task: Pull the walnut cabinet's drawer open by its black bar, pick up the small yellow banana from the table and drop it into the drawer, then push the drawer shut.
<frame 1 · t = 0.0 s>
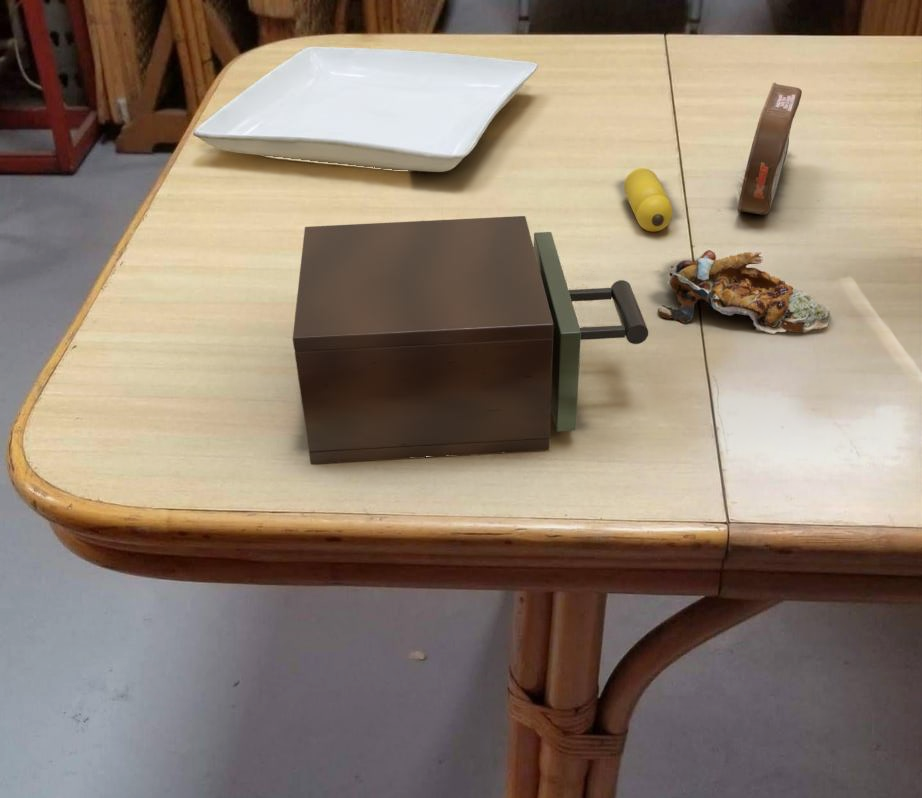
brown snack box: (762, 197, 95), on the table
drawer: (496, 330, 69), point 4 cm above the table, slide at 0.5 cm
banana: (646, 216, 92), on the table
brown sculpted figurine: (743, 310, 80), on the table
square plate: (377, 130, 109), on the table
cabinet: (425, 392, 72), on the table
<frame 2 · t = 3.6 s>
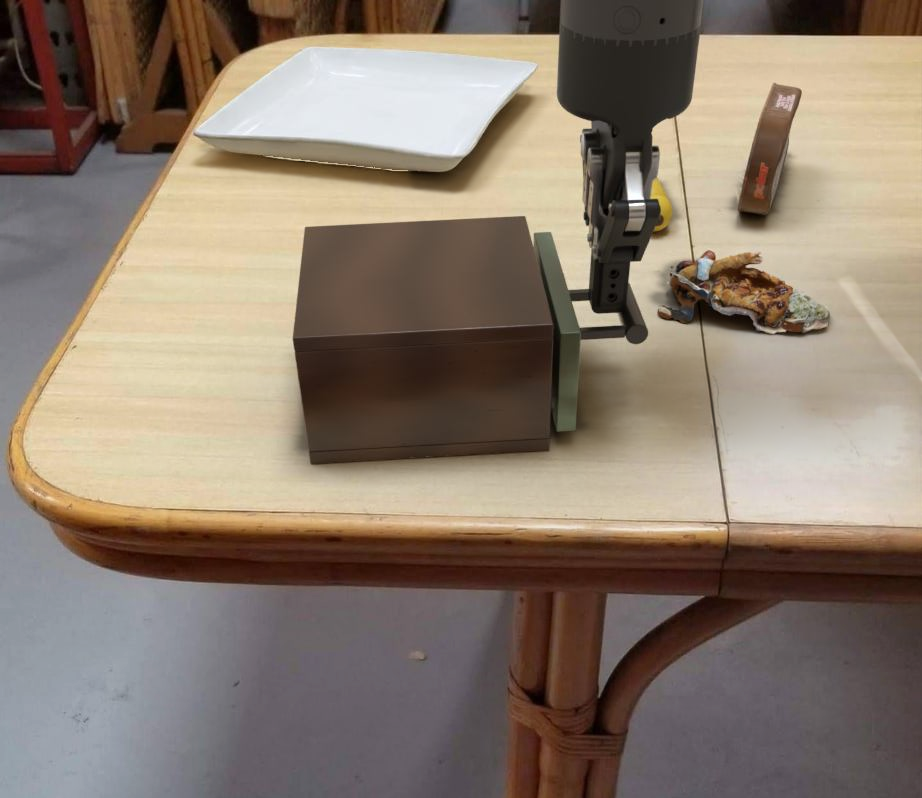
hand: (606, 307, 68), 6 cm above the table, tool pointing down, fingers closed
drawer: (495, 330, 69), point 4 cm above the table, slide at 0.5 cm, touching gripper
everything else where it was.
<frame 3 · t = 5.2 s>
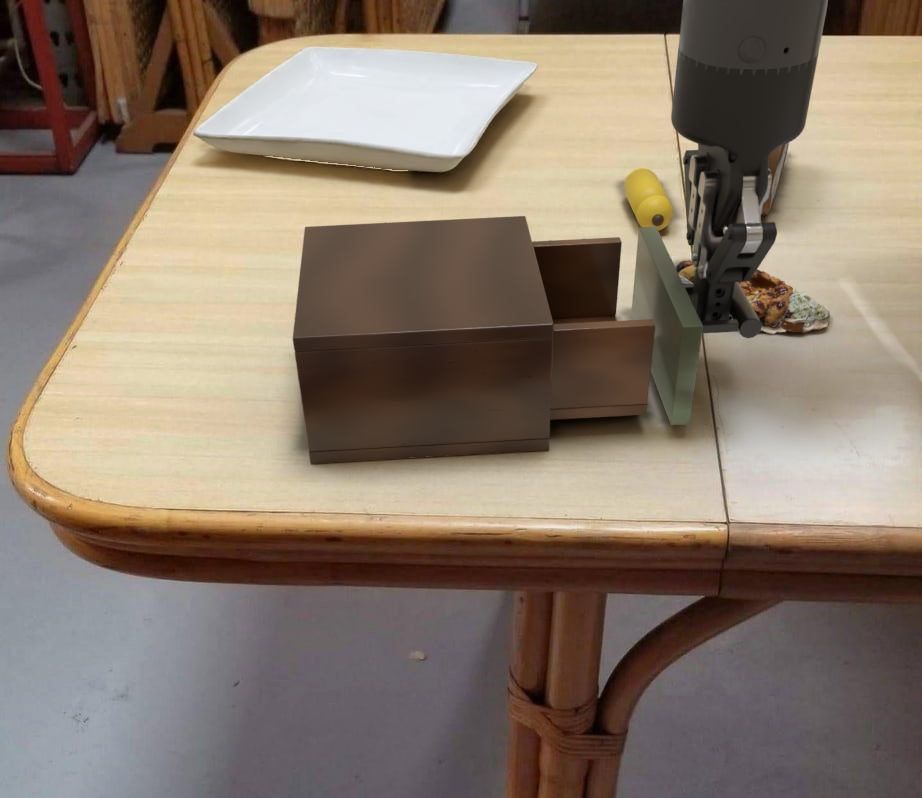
hand: (707, 324, 70), 4 cm above the table, tool pointing down, fingers closed
drawer: (605, 324, 69), point 4 cm above the table, slide at 7.6 cm
everything else where it was.
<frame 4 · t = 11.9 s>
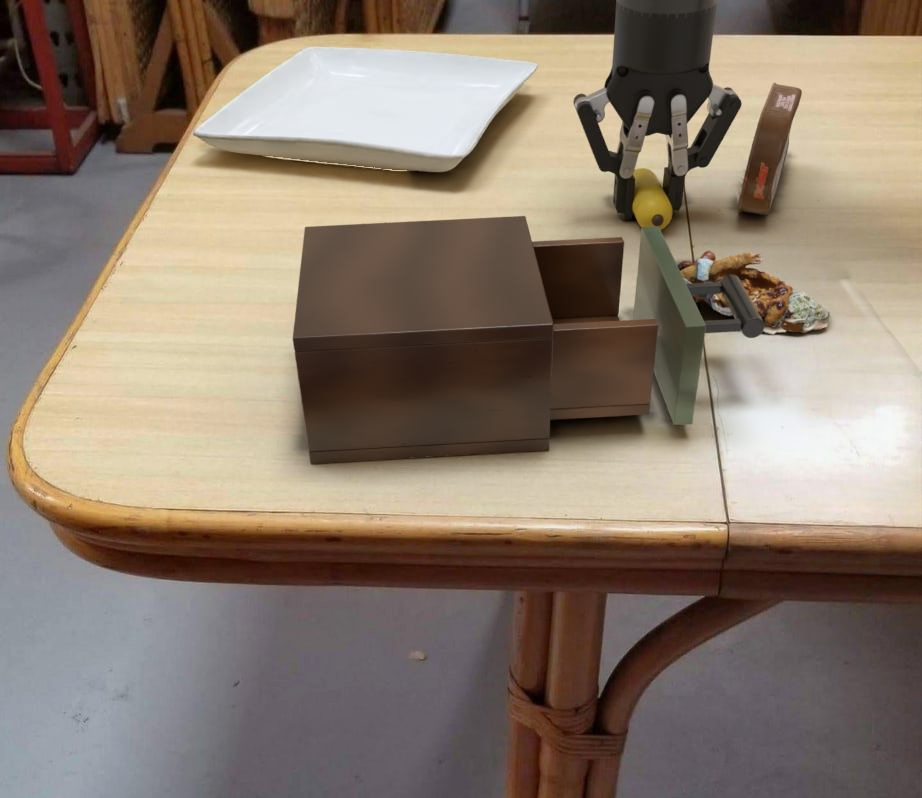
hand: (646, 214, 92), 0 cm above the table, tool pointing down, fingers closed on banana, 3 cm apart
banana: (646, 216, 92), on the table, touching gripper
everything else where it was.
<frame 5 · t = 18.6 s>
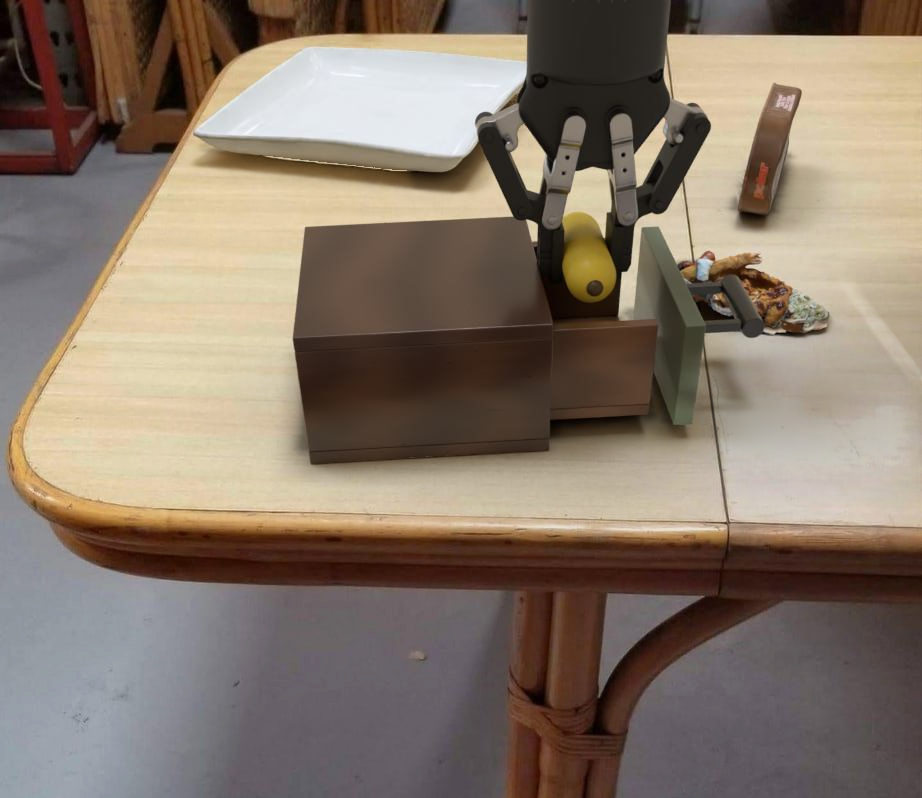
hand: (583, 276, 67), 8 cm above the table, tool pointing down, fingers closed on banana, 3 cm apart
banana: (582, 278, 67), point 8 cm above the table, touching gripper
everything else where it was.
when the fingers open (9 cm above the table, at t = 24.7 s): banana drops 7 cm, resting on drawer.
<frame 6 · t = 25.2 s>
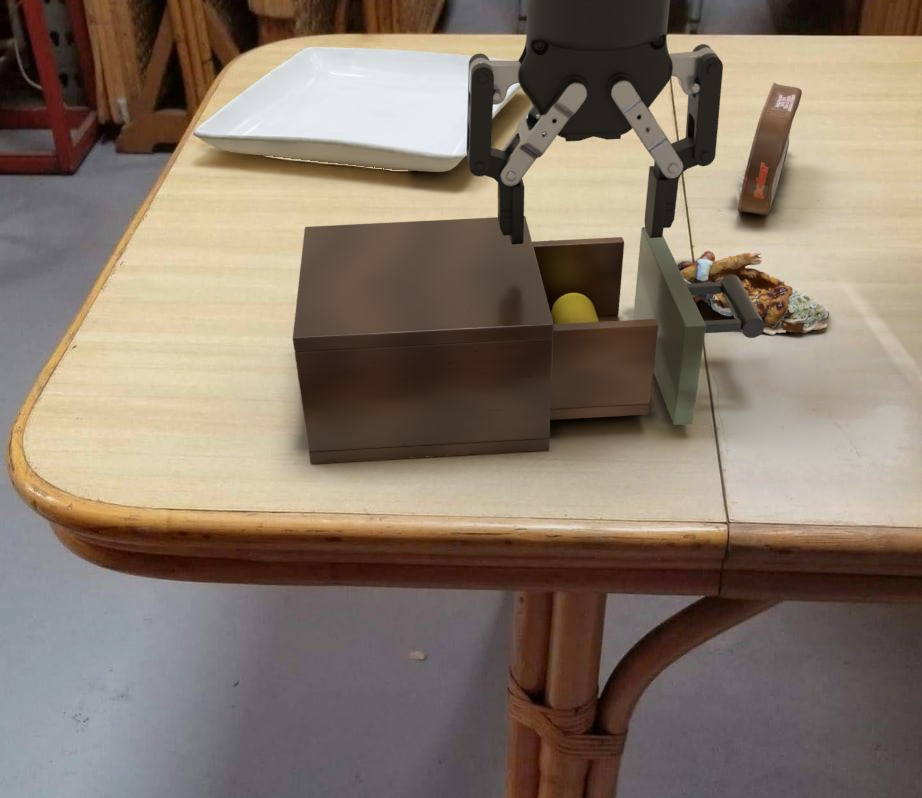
hand: (585, 235, 65), 11 cm above the table, tool pointing down, fingers open, 8 cm apart
drawer: (608, 324, 69), point 4 cm above the table, slide at 7.8 cm, touching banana
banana: (578, 356, 71), point 2 cm above the table, touching drawer
everything else where it was.
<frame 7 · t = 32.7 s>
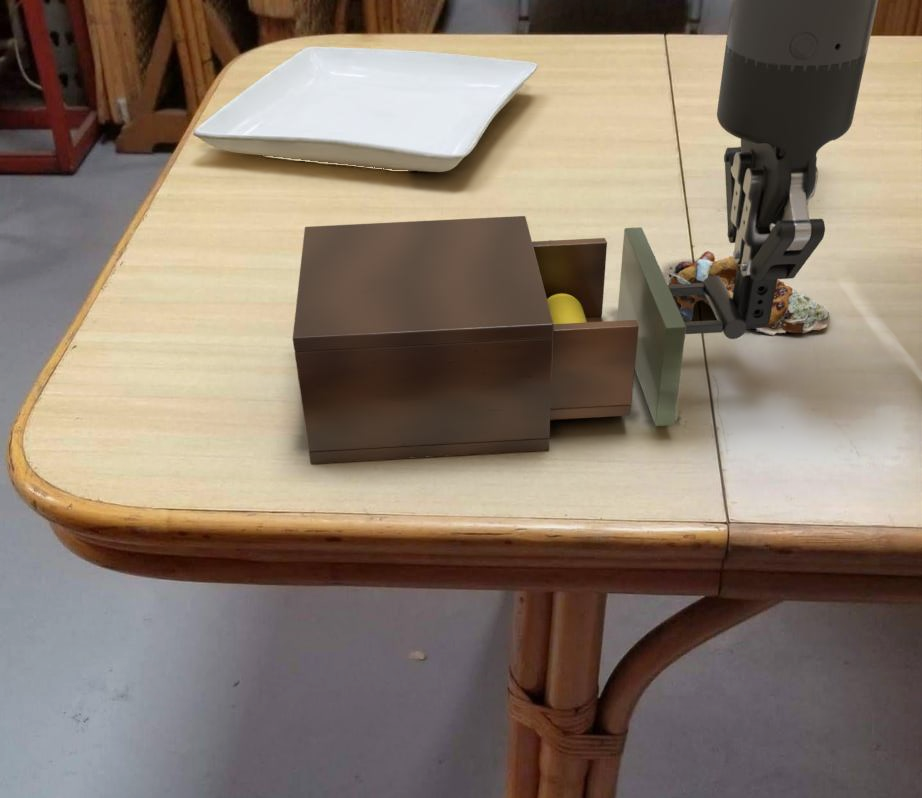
hand: (748, 322, 70), 4 cm above the table, tool pointing down, fingers closed
drawer: (590, 325, 69), point 4 cm above the table, slide at 6.6 cm, touching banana, gripper
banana: (561, 357, 71), point 2 cm above the table, tilted 13°, touching drawer
everything else where it was.
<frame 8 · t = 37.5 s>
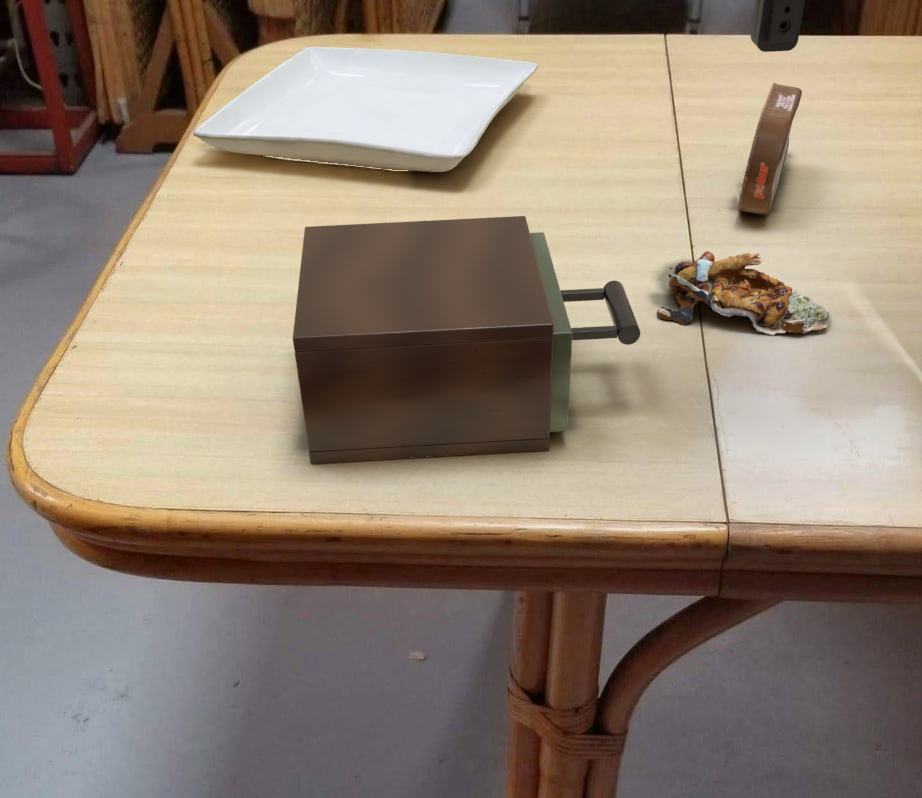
hand: (772, 46, 59), 21 cm above the table, tool pointing down, fingers closed
drawer: (488, 330, 69), point 4 cm above the table, slide at 0.0 cm, touching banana
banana: (426, 332, 69), point 5 cm above the table, tilted 127°, touching drawer
everything else where it was.
at the end: drawer slide at 0.0 cm; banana inside the target area in the cabinet (0.6 cm from its centre), point 4.3 cm above the cabinet's base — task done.
